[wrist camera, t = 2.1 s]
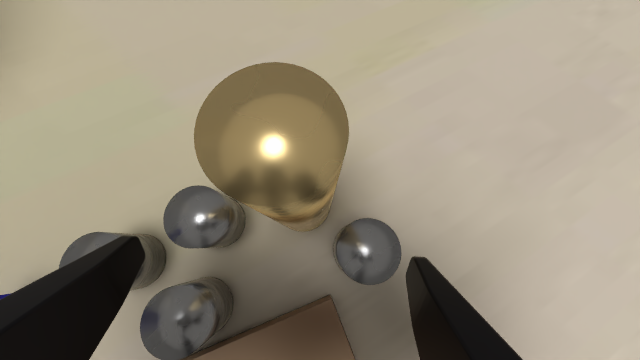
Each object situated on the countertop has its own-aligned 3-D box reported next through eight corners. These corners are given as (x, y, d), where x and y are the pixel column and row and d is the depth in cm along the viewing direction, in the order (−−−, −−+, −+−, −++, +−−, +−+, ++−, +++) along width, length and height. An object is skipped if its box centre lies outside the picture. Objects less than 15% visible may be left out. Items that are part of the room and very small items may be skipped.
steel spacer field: (392, 263, 19) (412, 269, 15) (136, 375, 17) (81, 414, 13) (341, 149, 20) (346, 127, 17) (107, 239, 19) (52, 238, 15)
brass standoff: (338, 218, 19) (374, 170, 7) (286, 240, 19) (220, 231, 6) (317, 169, 20) (315, 43, 7) (268, 188, 20) (176, 91, 7)
